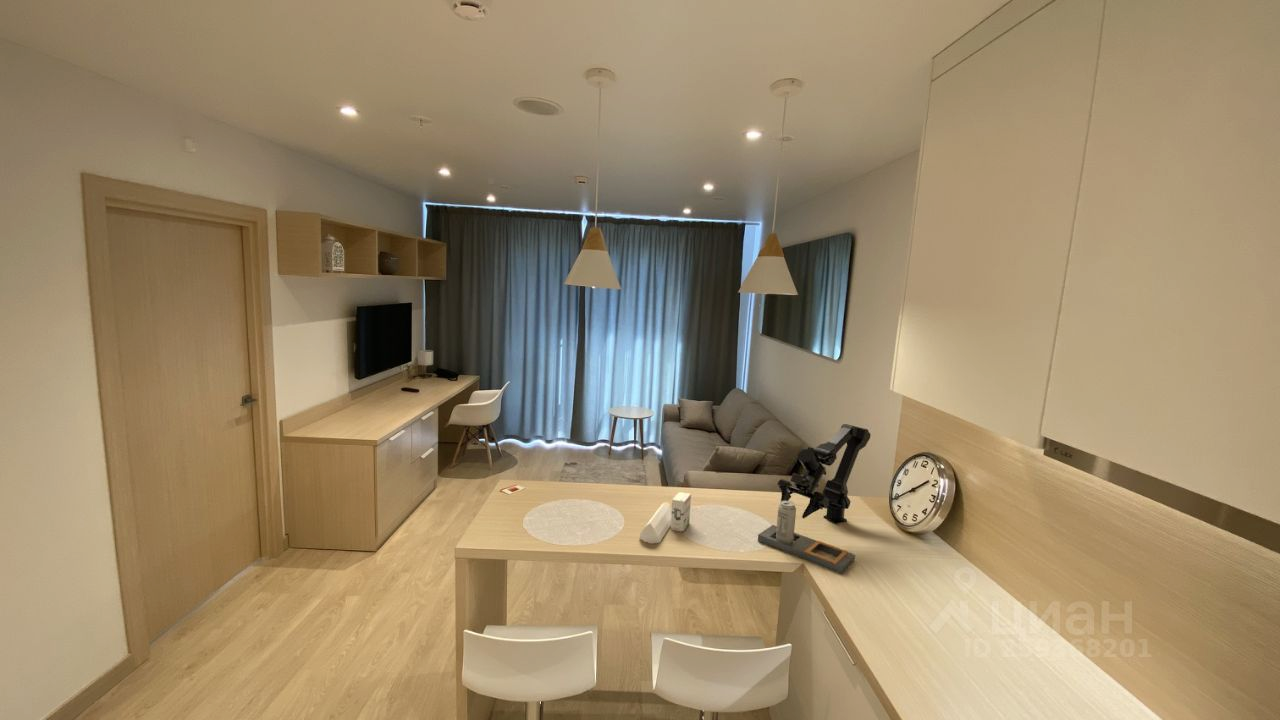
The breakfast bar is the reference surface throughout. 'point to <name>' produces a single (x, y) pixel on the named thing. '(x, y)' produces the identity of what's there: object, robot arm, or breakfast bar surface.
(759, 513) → the breakfast bar surface
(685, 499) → the ink box
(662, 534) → the pointed wooden block
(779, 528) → the energy drink can
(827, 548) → the grey flat block
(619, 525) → the breakfast bar surface
